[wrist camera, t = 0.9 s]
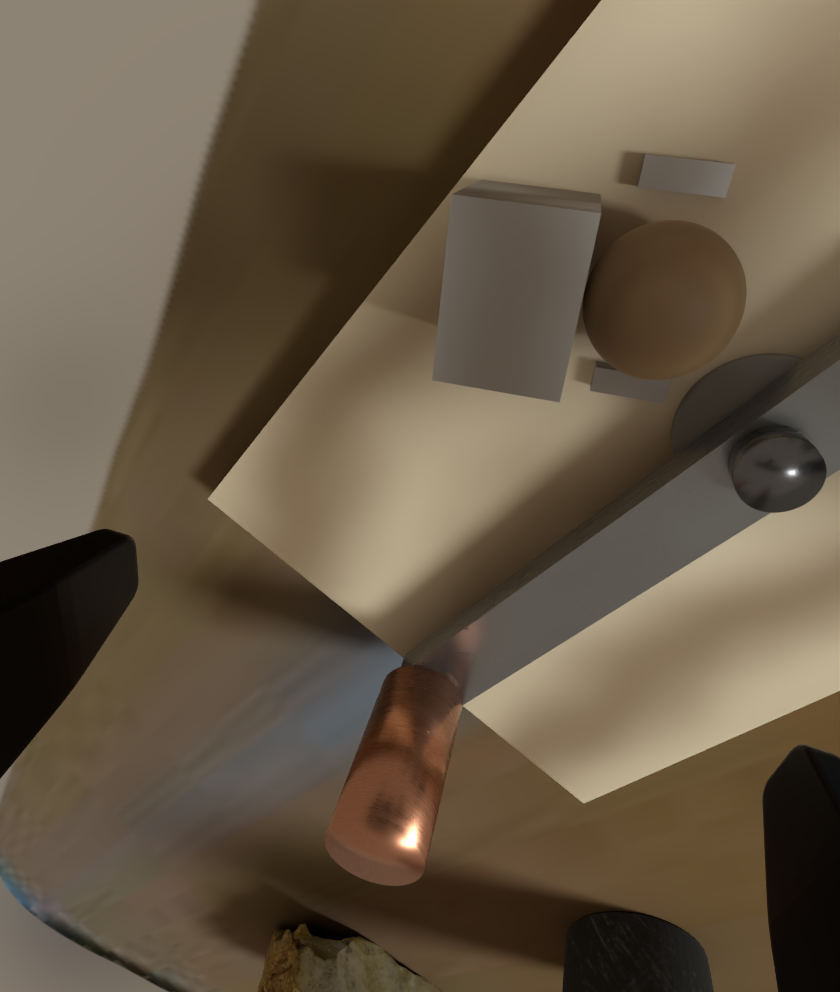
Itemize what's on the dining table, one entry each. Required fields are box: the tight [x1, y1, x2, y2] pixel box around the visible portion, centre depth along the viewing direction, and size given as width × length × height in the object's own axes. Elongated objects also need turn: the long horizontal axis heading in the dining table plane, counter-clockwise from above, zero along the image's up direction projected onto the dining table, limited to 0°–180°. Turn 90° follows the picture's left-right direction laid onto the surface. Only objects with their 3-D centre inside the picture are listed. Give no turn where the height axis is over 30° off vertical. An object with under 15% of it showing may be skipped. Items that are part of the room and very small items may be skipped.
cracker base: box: [208, 0, 840, 803], centre depth 19 cm, size 20×22×5 cm
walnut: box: [583, 220, 747, 380], centre depth 15 cm, size 4×4×4 cm
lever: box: [324, 333, 840, 886], centre depth 17 cm, size 21×3×7 cm, turn 140°
